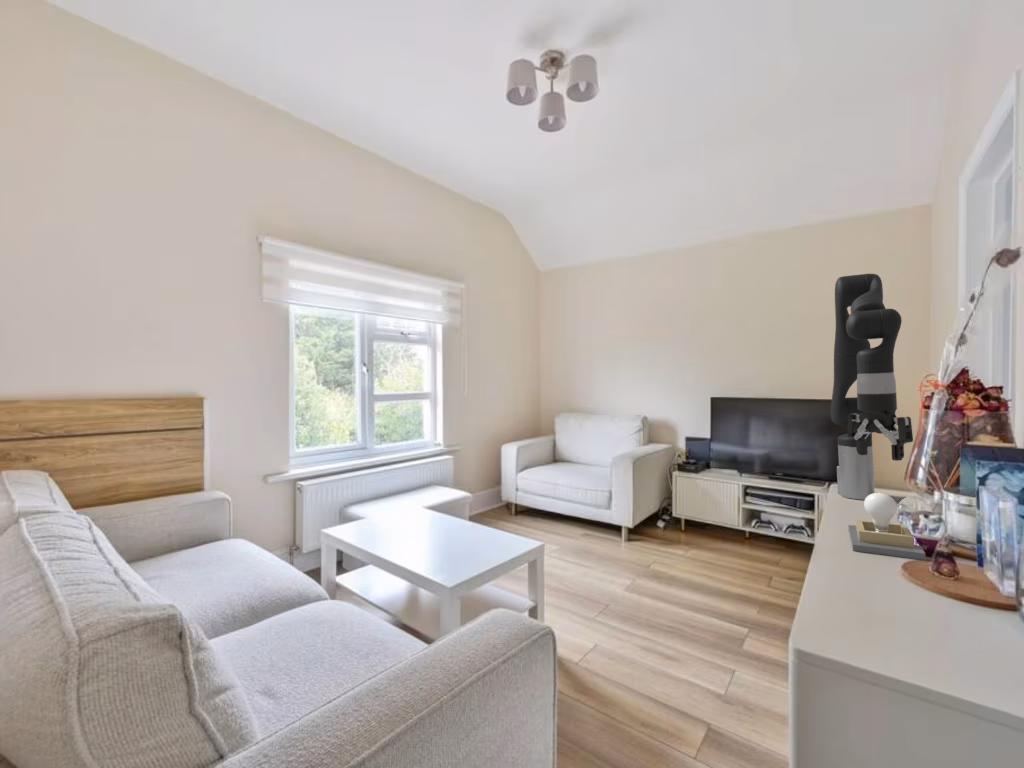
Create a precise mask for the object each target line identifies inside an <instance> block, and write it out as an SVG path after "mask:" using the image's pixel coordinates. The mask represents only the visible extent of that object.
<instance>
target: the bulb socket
mask: <svg viewBox="0 0 1024 768" xmlns="http://www.w3.org/2000/svg"><path fill="white" fill-rule="evenodd" d="M904 524H905V523H895V522H890V524H889V526H888V531H889V532H888V533H884V532H875V528H874V523H873V521H872V520H866V519H865V520H864V519H855V525H852V524H848V525H847V528H848V533H849V534H848V535H849V537H850V543H851V547H852V551H853V552H859V553H865V554H866V553H867V554H875V555H883V556H891V557H898V558H899V557H900V558H907V559H913V560H914V559H915V560H921V561H927V560H926V556H927V555H926V552H925V550H924V549H923V547H922V546H917V545H914V538H913V536H912V534H911V532H910V529H909V527H908V526H907V527H906V526H905V525H904Z"/></svg>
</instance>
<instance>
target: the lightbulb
mask: <svg viewBox="0 0 1024 768" xmlns="http://www.w3.org/2000/svg"><path fill="white" fill-rule="evenodd" d="M863 508H864V510H865V511H866V512H867V514H868V515H869V517H870V518H871V521H873V523H874V528H875V532H884V533H888V532H889V531H888V526H889V524H890V523H891V520H892V519H893V517H895V515H896V514H897V511H898V506H897V501H896V500H894V498H893V497H892V496H890V495H888V494H887V493H883V492H875V493H872V494H870V495H868V496H867V497H866V498H865V500H863Z"/></svg>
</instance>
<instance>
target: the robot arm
mask: <svg viewBox="0 0 1024 768" xmlns="http://www.w3.org/2000/svg"><path fill="white" fill-rule="evenodd" d="M883 300H884V290H883V281H882V279H881V277H880V276H879V275H878V274H875V273H862V274H853V275H852V274H851V275H845V276H840V277H838V278H837V280H836V281H835V285H834V308H835V309H834V313H835V336H834V346H833V347H834V348H833V388H832V396H831V402H830V405H831V406H830V417H831V418H830V419H831V421H832V422H833V423H834V424H835V425H838V426H839V425H840V426H847V430H846V431H847V433H845V434H842V435H839V436H837V449H838V452H837V453H838V454H837V455H838V465H837V466H836V478H837V480H836V481H837V494H838V495H840V496H842V497H843V498H847V499H852V500H862V501H864V500H865V498H866V497H867V496H868V495H870V494H872V493H876V492H875V491H876V490H875V476H874V475H875V474H874V473H875V471H874V469H875V468H874V454H873V452H874V451H873V433H876V434H883V436H884V437H885V438H887V439H888V440H889V441H890V443H891V444H890V445H891V460H892V461H902V460H903V459H904V457H905V449H904V448H905V446H904V445H905V444H909V443H913V442H914V438H913V428H912V427H913V426H912V418H911V417H910V416H900V417H897V415H896V411H897V409H898V403H897V401H898V400H897V381H896V377H895V371H894V370H895V367H894V354H895V353H894V352H895V346H896V341H897V338H898V336H899V333H900V329H901V326H902V316H901V314H900V313H899V312H898V310H896V309H894V308H886V307H885V305H884V301H883ZM849 307H850V313H849V310H848V308H849ZM877 339H879V340H880V339H882V340H881V342H880V344H879V345H877V346H875V347H871V342H870V341H869V340H877ZM855 382H856V397H855V396H854V397H847V394H848V392H849V390H850V388H851V386H853V384H855Z"/></svg>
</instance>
